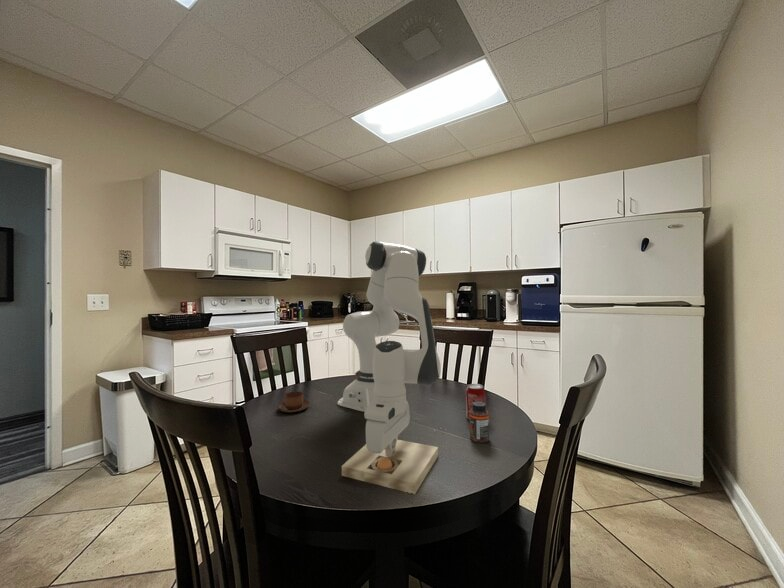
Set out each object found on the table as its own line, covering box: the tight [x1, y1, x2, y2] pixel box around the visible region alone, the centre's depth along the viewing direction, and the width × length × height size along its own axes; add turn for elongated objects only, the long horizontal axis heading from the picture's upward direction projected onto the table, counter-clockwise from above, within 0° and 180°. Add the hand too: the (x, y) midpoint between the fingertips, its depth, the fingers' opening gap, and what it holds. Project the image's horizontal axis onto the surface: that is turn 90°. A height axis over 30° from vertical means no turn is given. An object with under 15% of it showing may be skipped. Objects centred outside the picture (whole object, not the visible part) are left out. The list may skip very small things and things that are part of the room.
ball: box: [377, 458, 392, 470], centre depth 84 cm, size 4×4×4 cm
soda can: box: [465, 383, 486, 420], centre depth 119 cm, size 7×7×12 cm
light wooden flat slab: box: [341, 439, 439, 495], centre depth 89 cm, size 20×19×2 cm
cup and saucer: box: [278, 391, 310, 413], centre depth 133 cm, size 12×12×6 cm
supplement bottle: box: [469, 402, 490, 444], centre depth 103 cm, size 6×6×11 cm
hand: (390, 453), depth 88 cm, fingers closed
